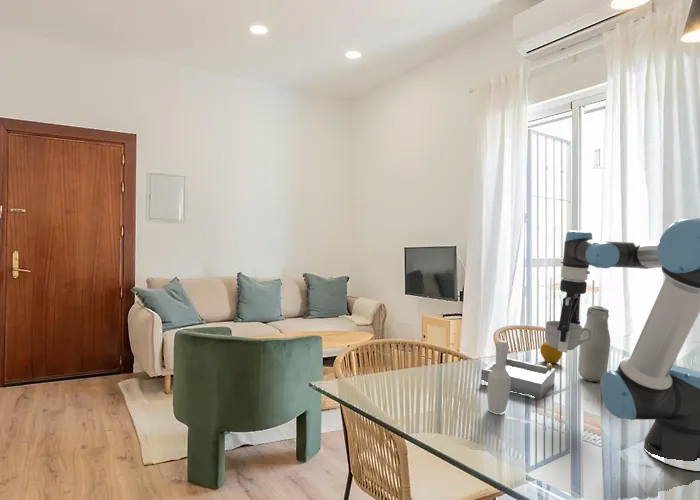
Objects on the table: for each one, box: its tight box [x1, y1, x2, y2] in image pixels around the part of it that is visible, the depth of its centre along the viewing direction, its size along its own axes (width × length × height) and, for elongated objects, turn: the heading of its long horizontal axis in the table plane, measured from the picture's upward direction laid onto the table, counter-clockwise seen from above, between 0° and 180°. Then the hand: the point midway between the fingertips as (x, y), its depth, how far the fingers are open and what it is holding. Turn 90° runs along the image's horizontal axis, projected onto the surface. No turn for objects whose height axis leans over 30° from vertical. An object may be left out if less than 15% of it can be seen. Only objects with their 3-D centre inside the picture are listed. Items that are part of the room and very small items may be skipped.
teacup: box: [544, 320, 593, 351], centre depth 157 cm, size 14×11×8 cm
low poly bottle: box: [486, 339, 511, 413], centre depth 148 cm, size 6×6×22 cm
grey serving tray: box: [480, 357, 556, 401], centre depth 174 cm, size 20×20×7 cm
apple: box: [540, 341, 563, 364], centre depth 201 cm, size 9×8×9 cm
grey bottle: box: [578, 305, 611, 382], centre depth 181 cm, size 10×10×28 cm
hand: (566, 347), depth 157 cm, fingers closed on teacup, 11 cm apart
